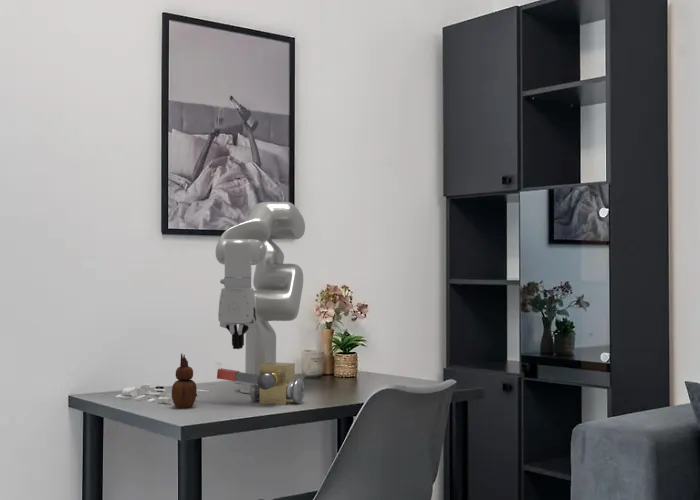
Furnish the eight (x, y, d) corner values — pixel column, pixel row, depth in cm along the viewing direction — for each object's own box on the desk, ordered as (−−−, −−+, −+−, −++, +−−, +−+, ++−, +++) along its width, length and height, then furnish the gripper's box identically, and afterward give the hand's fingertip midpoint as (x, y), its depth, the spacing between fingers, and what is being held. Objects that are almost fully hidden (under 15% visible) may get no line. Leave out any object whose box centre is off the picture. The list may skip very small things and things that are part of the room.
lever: (271, 390, 247) (216, 381, 252) (275, 389, 250) (220, 380, 255) (273, 375, 247) (217, 366, 252) (277, 373, 250) (222, 365, 255)
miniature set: (216, 400, 255) (185, 412, 246) (135, 396, 276) (103, 407, 266) (212, 378, 255) (181, 389, 245) (132, 376, 276) (100, 386, 266)
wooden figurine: (181, 409, 241) (182, 354, 242) (167, 407, 245) (168, 352, 245) (200, 407, 247) (201, 352, 247) (186, 405, 250) (186, 351, 251)
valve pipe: (245, 404, 252) (246, 365, 253) (259, 399, 262) (259, 361, 262) (292, 406, 248) (292, 366, 249) (304, 401, 258) (304, 363, 258)
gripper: (208, 283, 251) (207, 349, 251) (257, 284, 246) (257, 351, 247) (219, 282, 258) (219, 346, 258) (267, 283, 254) (267, 348, 254)
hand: (237, 348), depth 252 cm, fingers closed
